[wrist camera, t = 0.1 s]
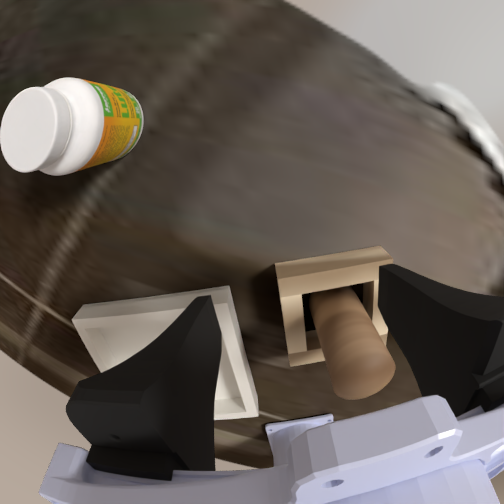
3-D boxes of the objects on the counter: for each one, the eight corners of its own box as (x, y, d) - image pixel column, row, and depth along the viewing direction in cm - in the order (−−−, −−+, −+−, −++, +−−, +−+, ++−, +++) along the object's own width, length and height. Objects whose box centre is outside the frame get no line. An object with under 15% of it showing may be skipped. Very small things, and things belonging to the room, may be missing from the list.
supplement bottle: (160, 114, 18) (91, 106, 9) (117, 174, 20) (36, 210, 11) (108, 76, 17) (24, 54, 8) (70, 135, 18) (-20, 151, 9)
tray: (257, 398, 29) (258, 416, 26) (138, 403, 29) (133, 419, 27) (229, 285, 23) (227, 302, 21) (83, 304, 24) (71, 319, 22)
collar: (376, 329, 25) (385, 346, 23) (287, 347, 26) (290, 366, 23) (379, 245, 22) (393, 258, 20) (274, 263, 22) (277, 279, 20)
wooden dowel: (354, 315, 25) (390, 390, 16) (310, 323, 25) (332, 404, 17) (354, 275, 23) (399, 347, 15) (306, 284, 23) (333, 363, 15)
